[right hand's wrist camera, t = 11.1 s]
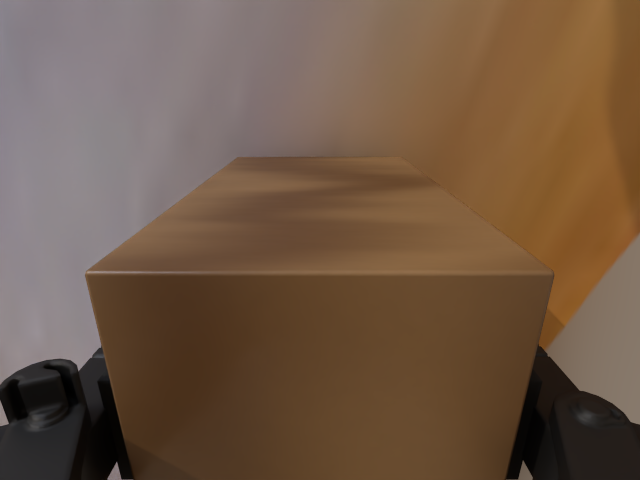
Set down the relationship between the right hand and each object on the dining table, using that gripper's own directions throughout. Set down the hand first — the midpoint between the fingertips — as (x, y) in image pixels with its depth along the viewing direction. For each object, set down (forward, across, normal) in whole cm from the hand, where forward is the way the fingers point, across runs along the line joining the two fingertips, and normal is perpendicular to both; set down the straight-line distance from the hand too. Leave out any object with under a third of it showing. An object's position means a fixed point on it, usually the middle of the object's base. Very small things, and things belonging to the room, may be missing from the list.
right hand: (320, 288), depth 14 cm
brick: (+5, 0, 0) cm, 5 cm away
